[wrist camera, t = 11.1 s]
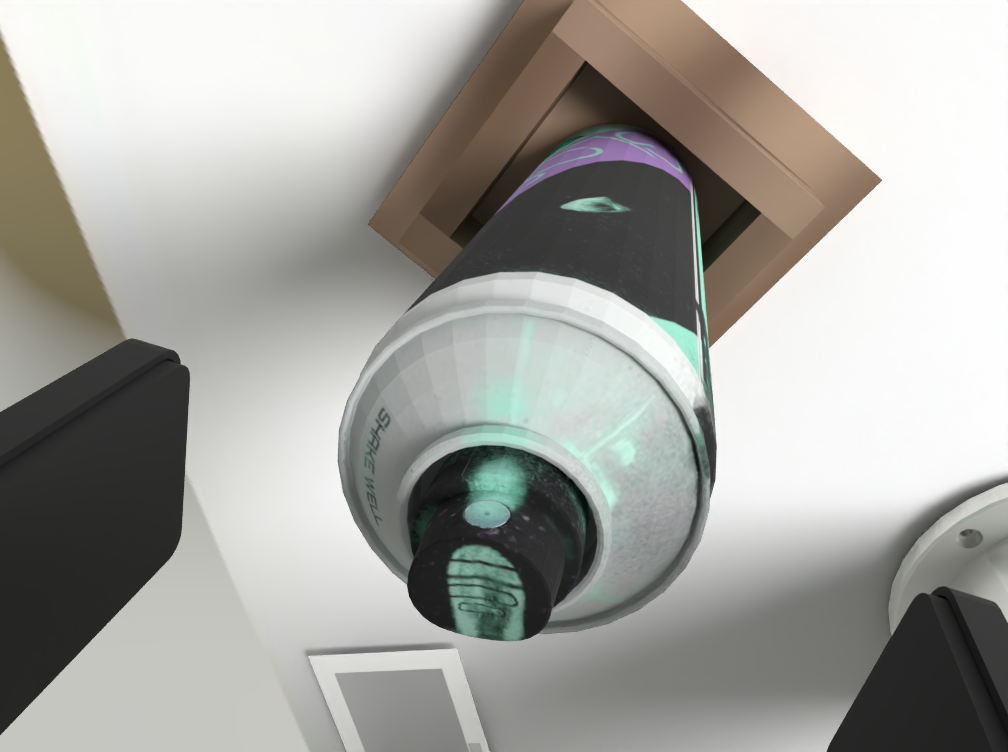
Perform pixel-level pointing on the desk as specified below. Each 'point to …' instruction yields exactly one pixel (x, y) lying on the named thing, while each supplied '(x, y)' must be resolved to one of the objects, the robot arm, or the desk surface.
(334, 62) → the desk surface
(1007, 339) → the desk surface
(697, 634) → the desk surface
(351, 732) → the touchpad
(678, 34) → the display stand
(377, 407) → the spray can
